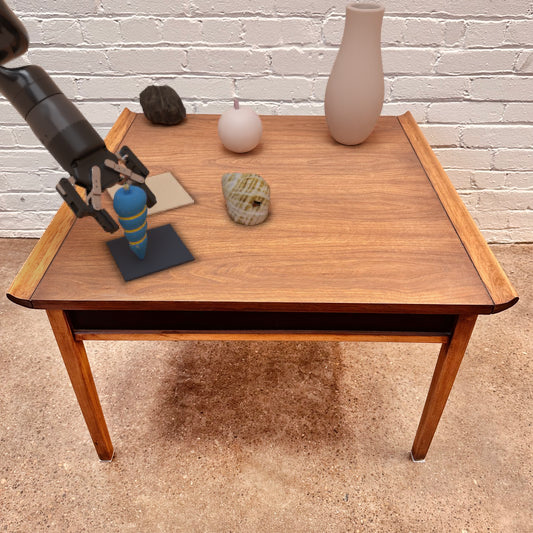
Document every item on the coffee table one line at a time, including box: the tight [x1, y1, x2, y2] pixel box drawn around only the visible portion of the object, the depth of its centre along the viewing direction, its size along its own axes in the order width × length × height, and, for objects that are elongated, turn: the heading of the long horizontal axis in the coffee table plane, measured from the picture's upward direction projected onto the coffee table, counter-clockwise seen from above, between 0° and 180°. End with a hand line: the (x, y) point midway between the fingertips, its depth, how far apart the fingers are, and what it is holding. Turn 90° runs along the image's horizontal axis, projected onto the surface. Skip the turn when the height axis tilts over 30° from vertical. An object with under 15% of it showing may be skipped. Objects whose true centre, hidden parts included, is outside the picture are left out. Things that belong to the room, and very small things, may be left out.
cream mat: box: [106, 171, 195, 217], centre depth 98 cm, size 14×14×1 cm
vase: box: [323, 1, 386, 146], centre depth 110 cm, size 14×14×30 cm
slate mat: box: [105, 223, 196, 283], centre depth 83 cm, size 12×12×1 cm
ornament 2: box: [217, 98, 264, 154], centre depth 111 cm, size 10×10×12 cm
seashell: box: [220, 172, 271, 226], centre depth 92 cm, size 10×10×10 cm
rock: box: [138, 84, 187, 125], centre depth 125 cm, size 10×11×10 cm
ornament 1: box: [112, 183, 148, 259], centre depth 76 cm, size 5×5×15 cm
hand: (135, 218), depth 76 cm, fingers open, 8 cm apart
